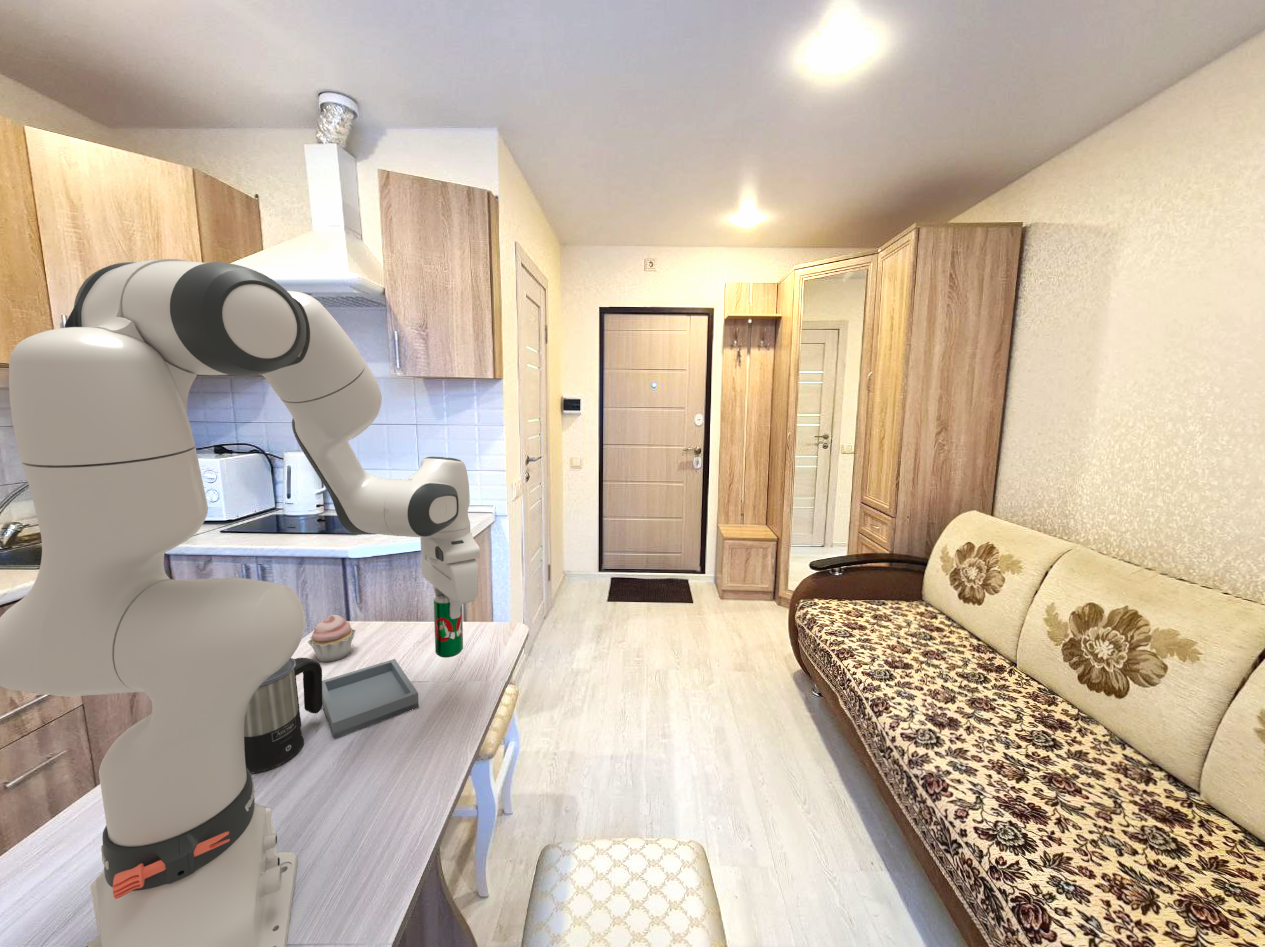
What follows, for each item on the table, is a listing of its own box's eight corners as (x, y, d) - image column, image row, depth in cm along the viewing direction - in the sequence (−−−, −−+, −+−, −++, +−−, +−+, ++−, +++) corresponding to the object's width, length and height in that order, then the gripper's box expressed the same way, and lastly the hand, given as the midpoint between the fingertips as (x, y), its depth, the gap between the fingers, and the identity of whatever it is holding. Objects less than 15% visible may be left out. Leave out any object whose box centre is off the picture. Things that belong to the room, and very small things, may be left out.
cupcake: (300, 667, 104) (297, 624, 103) (321, 646, 113) (318, 606, 112) (347, 665, 106) (344, 622, 104) (363, 644, 115) (361, 604, 113)
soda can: (456, 643, 96) (454, 586, 95) (467, 652, 93) (466, 593, 91) (431, 652, 93) (428, 593, 91) (442, 661, 89) (440, 600, 88)
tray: (418, 707, 91) (418, 692, 91) (333, 739, 82) (332, 723, 82) (395, 671, 103) (394, 658, 103) (319, 696, 94) (318, 682, 94)
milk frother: (275, 776, 74) (267, 688, 72) (175, 773, 74) (164, 685, 72) (334, 717, 88) (328, 642, 86) (250, 715, 88) (242, 639, 86)
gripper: (411, 533, 96) (414, 599, 98) (448, 557, 80) (450, 635, 82) (443, 528, 100) (445, 592, 102) (484, 550, 85) (485, 625, 86)
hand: (448, 611), depth 92 cm, fingers closed on soda can, 5 cm apart
